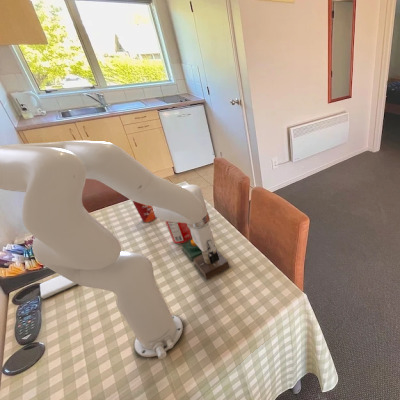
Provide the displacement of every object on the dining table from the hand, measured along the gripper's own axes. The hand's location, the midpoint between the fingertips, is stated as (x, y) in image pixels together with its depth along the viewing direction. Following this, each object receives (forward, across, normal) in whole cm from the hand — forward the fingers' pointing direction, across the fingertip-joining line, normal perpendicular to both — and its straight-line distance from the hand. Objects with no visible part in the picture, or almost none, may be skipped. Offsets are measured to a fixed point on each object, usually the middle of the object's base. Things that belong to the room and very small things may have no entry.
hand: (209, 255), depth 102 cm
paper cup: (+6, -54, -8) cm, 55 cm away
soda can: (+6, -25, -2) cm, 26 cm away
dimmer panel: (+5, 0, 0) cm, 5 cm away
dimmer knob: (+2, 0, 0) cm, 2 cm away
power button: (+2, -13, 0) cm, 13 cm away
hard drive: (+4, -30, -49) cm, 57 cm away
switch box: (+5, -13, 0) cm, 14 cm away
